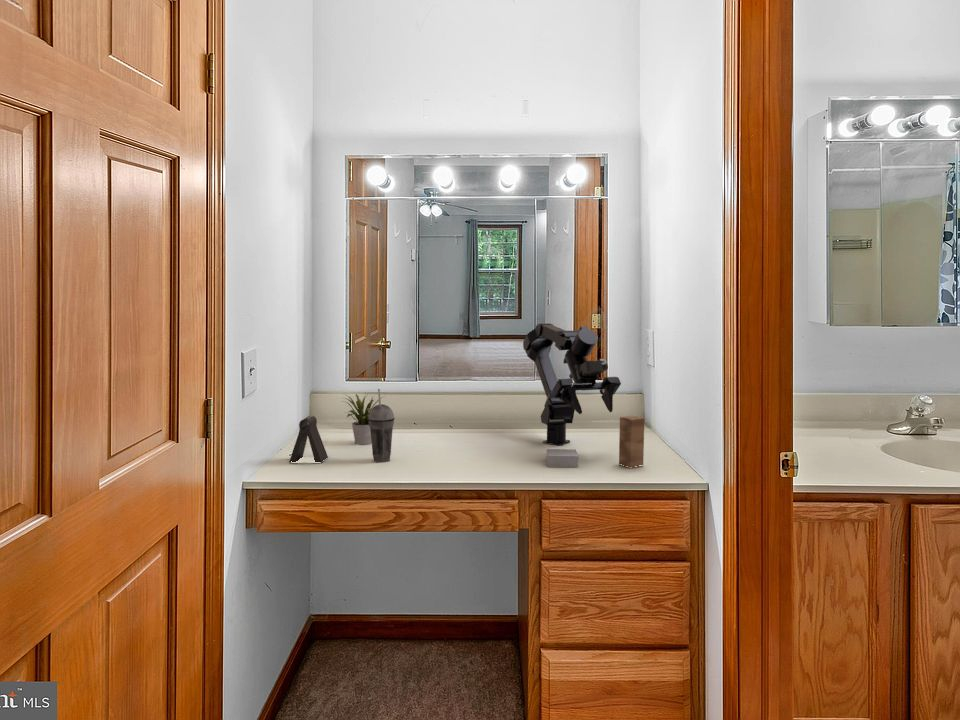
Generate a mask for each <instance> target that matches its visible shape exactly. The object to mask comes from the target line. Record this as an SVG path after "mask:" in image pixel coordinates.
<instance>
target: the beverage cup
mask: <svg viewBox="0 0 960 720" xmlns="http://www.w3.org/2000/svg"><path fill="white" fill-rule="evenodd" d="M377 393H378V394H377V395H378V399H379V401H378V404H375V405H374V406H373V408H372V407H371V408H372V409H371V411H370V413H369V412H368V413H369V418H368V420H369V427H370V432H371V442H372V444H371V450H372V457H373V462H374V463H388V462H390V461H391V455H392V454H391V453H392V441H393V428H394V424H395V419H396V418H395V415H394V412H393V410H392V408H391V407H390V406H388V405H386V404H382V401H381V399H382V398H381V389H380V388H378V389H377ZM380 398H381V399H380Z"/></svg>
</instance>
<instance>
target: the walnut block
mask: <svg viewBox="0 0 960 720" xmlns="http://www.w3.org/2000/svg"><path fill="white" fill-rule="evenodd" d="M618 438H619V443H618V445H619V447H618V448H619V449H618V451H619V452H618V465H619V464H622V465H624V466H623V467H625V466H628V467H635V466H639V465H643V466H644V455H645V454H644V452H645V451H644V450H645V449H644V445H645V417H642V416H637V415H625V416H620V417H619V437H618ZM628 467H627V468H628Z"/></svg>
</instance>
